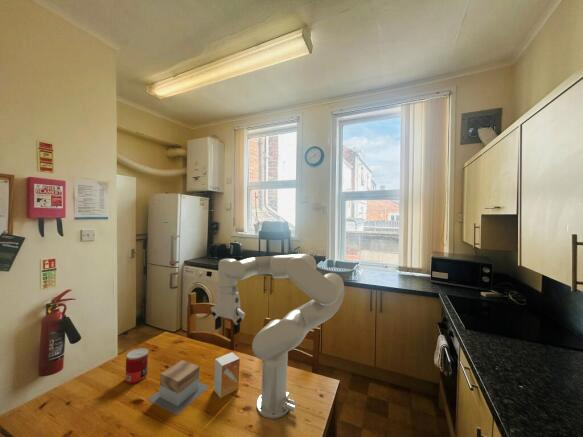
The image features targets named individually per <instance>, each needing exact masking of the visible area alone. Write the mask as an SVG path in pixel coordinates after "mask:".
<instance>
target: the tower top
mask: <svg viewBox="0 0 583 437" xmlns="http://www.w3.org/2000/svg"><path fill="white" fill-rule="evenodd" d="M159 375H160V376H159V378H160V379H159V386H160V385H161V386H163V387H165V388H167V389H169V390H171V391H173V392H175V393H177V394H179V393H180V392H181V391H183V390H184V389H185V388H186V387H188V386H189V385H190V384H192V383H193V382H194V381H196V380H197V379H198V378H199V379H200V366H198V365H196V364H194V363H191V362H189V361H187V360H183V359H181V360H180V361H178V362H176V363H175V364H173V365H172V366H170V367H168V368H167V369H165V370H164V371H162V372H161V373H160V374H159Z"/></svg>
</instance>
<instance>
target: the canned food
mask: <svg viewBox="0 0 583 437" xmlns="http://www.w3.org/2000/svg"><path fill="white" fill-rule="evenodd" d="M125 358H126V359H125V380H124V381H125V382H126V384H128V385H135V384H139V383H140V382H142V381H143V380H145V379H146V378H147V376H148V363H149V350H148V349H147V348H144V347H143V348H141V347H140V348H136V349H133V350H131V351H129V352H127V353H126V356H125Z"/></svg>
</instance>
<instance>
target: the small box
mask: <svg viewBox="0 0 583 437" xmlns="http://www.w3.org/2000/svg"><path fill="white" fill-rule="evenodd" d="M240 360H241V359H240V357H239V356H237V355H236V354H235V353H234V352H232V351H231V352H229V353H227V354H224V355H222V356H219V357H217V358H214V378H213V391H214V392H215V393H216V394H217V395H218V397H219V398H220V399H222V398H224V397H226V396H228V395H229V394H231V393H233V392H235V391H236V390H239V385H240V384H239V382H240V362H241V361H240Z"/></svg>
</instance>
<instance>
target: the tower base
mask: <svg viewBox="0 0 583 437" xmlns="http://www.w3.org/2000/svg"><path fill="white" fill-rule="evenodd" d="M199 382H200V377H199V378H198V379H197V380H196V381H194V382H193V383H192V384H190V385H189V386H188V387H186V388H185V389H184V390H183V391H181V392H180V393H179V394H177V393H175V392H173V391H171V390H169V389H167V388H165V387H163V386H161V385H160V384H159V391H160V397H161V398H163V399H165V400H167V401H169V402H170V403H172V404H174V405H176V406H178V405H180V404H181V403H182V402H183V401H185V400H186V399H187V398H188V397H189V396H191V395H192V394H193V393H194V392H196V391H197V390H198V389H199Z"/></svg>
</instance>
